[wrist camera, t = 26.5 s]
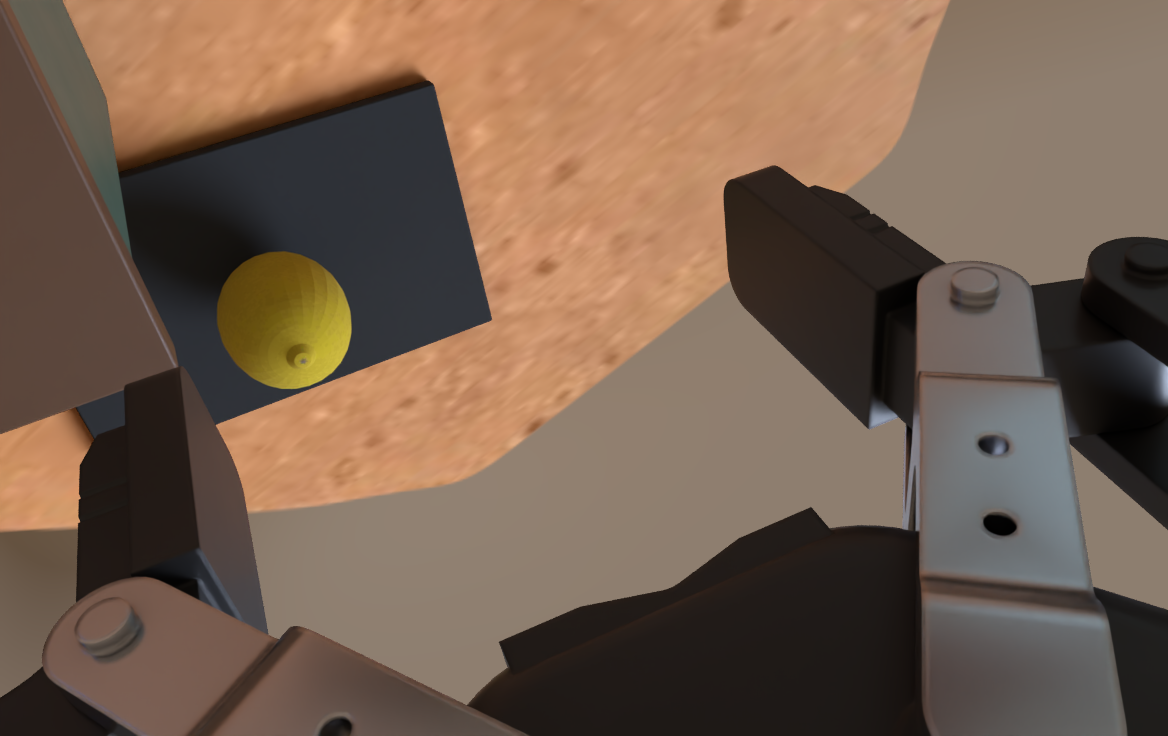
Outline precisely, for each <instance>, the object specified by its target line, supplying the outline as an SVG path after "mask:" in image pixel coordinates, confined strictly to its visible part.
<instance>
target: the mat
mask: <svg viewBox="0 0 1168 736" xmlns="http://www.w3.org/2000/svg"><path fill="white" fill-rule="evenodd" d="M118 175H119V181H120V187H121V193H122V199H123V205H124V212H125V218H126V224H127V230H128V236H129V243H130V249H131V255H132V259H133V261H134V263H135V265H136V267H137V270H138V272H139V274H140V276H141V278H142V280H143V282H144V284H145V286H146V288H147V290H148V292H149V294H150V297H151V299H152V301H153V303H154V305H155V307H156V309H157V311H158V313H159V315H160V317H161V319H162V321H163V324H164V326H165V328H166V330H167V332H168V334H169V336H170V338H171V340H172V342H173V344H174V347H175V352H176V356H177V361H178V367H179V366H183V367H184V368H185V369H186V371H187V372H188V374H189V375H190V377H191V379H192V381H193V383H194V384H195V386H196V388H197V390H198V392H199V394H200V396H201V398H202V400H203V402H204V404H205V406H206V408H207V410H208V411H209V413H210V415H211V417H212V419H213V421H214V423H215V425H216V424H219V423H221V422H224V421H227V420H229V419H232V418H235V417H237V416H240V415H242V414H245V413H248V412H250V411H253V410H256V409H258V408H261V407H264V406H266V405H269V404H272V403H274V402H277V401H280V400H282V399H285V398H287V397H290V396H293V395H295V394H298V393H301V392H303V391H306V390H309V389H311V388H314V387H317V386H319V385H322V384H325V383H327V382H330V381H332V380H335V379H338V378H340V377H343V376H346V375H348V374H351V373H354V372H356V371H359V370H362V369H364V368H367V367H370V366H372V365H375V364H377V363H380V362H383V361H385V360H388V359H391V358H393V357H396V356H399V355H401V354H404V353H407V352H409V351H412V350H415V349H417V348H420V347H422V346H425V345H428V344H430V343H433V342H436V341H438V340H441V339H444V338H446V337H449V336H452V335H454V334H457V333H460V332H462V331H465V330H467V329H470V328H473V327H475V326H478V325H481V324H483V323H486V322H489V321H491V320H492V317H491V313H490V309H489V305H488V301H487V297H486V293H485V289H484V285H483V281H482V277H481V273H480V269H479V265H478V261H477V257H476V253H475V249H474V245H473V241H472V237H471V233H470V229H469V225H468V221H467V217H466V212H465V208H464V204H463V200H462V196H461V192H460V188H459V184H458V180H457V176H456V172H455V168H454V164H453V160H452V156H451V152H450V148H449V144H448V140H447V136H446V132H445V128H444V124H443V120H442V116H441V112H440V108H439V104H438V100H437V96H436V91H435V87H434V85H433V83H431V82H430V81H424V82H421V83H418V84H414V85H411V86H408V87H404V88H401V89H398V90H394V91H391V92H388V93H384V94H381V95H378V96H374V97H371V98H367V99H364V100H361V101H357V102H354V103H351V104H347V105H344V106H341V107H337V108H334V109H331V110H327V111H324V112H321V113H317V114H314V115H311V116H307V117H304V118H301V119H297V120H294V121H291V122H287V123H284V124H281V125H277V126H274V127H271V128H267V129H264V130H261V131H257V132H254V133H250V134H247V135H244V136H240V137H237V138H234V139H230V140H227V141H224V142H220V143H217V144H214V145H210V146H207V147H204V148H200V149H197V150H194V151H190V152H187V153H184V154H180V155H177V156H174V157H170V158H167V159H164V160H160V161H157V162H154V163H150V164H147V165H144V166H140V167H137V168H133V169H130V170H127V171H123V172H120V173H118ZM282 251H285V252H291V253H296V254H300V255H303V256H305V257H307V258H309V259H311V260H314V261H316V262H317V263H318V264H320V265H321V266H322V267H323V268H325V269H326V270H327V271H328V272H330V273H331V274H332V275H333V277H334V278H335V280H336V281H337V282H338V284H339V285H340V287H341V288H342V290H343V292H344V294H345V297H346V300H347V302H348V305H349V308H350V313H351V338H350V342H349V346H348V350H347V352H346V354H345V356H344V358H343V359H342V361H341V363H340V364H339V365H338V366H337V368H336V369H335V370H334V371H333V372H332V373H331V374H329V375H328V376H327V377H325V378H324V379H323V380H321V381H319V382H317V383H314V384H312V385H310V386H306V387H301V388H297V389H281V388H276V387H272V386H268V385H265V384H263V383H261V382H259V381H257V380H255V379H253V378H252V377H250V376H249V375H248V374H247V373H246V372H244V371H243V370H242V369H241V368H240V367H239V366H238V365H237V364H236V363H235V362H234V361H233V359H232V358H231V356H230V354H229V353H228V351H227V350H226V348H225V347H224V345H223V342H222V339H221V336H220V333H219V329H218V325H217V304H218V300H219V296H220V293H221V290H222V287H223V285H224V284H225V282H226V281H227V279H228V278H229V276H230V274H231V273H232V272H233V271H234V270H235V269H237V268H238V267H239V266H240V265H241V264H242V263H243V262H245V261H247V260H249V259H251V258H253V257H254V256H257V255H261V254H264V253H268V252H282ZM76 409H77V411H78V412H79V414H80V416H81V417H82V419H83V421H84V423H85V424H86V426H87V428H88V430H89V431H90V433H91V435H92V436H93V438H94V440H95V438H96V436H97V435H98V434H101V433H104V432H107V431H109V430H112V429H115V428H118V427H121V426H124V425H125V407H124V390H122V391H119V392H117V393H114V394H111V395H108V396H105V397H103V398H100V399H97V400H94V401H91V402H89V403H86V404H83V405H80V406H78V407H76Z"/></svg>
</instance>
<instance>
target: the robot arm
mask: <svg viewBox="0 0 1168 736" xmlns="http://www.w3.org/2000/svg"><path fill="white" fill-rule="evenodd" d="M724 212H725V228H726V244H727V260H728V272H729V277H730V281H731V284H732V287H733V290H734V292H735V294H736V296H737V298H738V300H739V301H740V303H741V304H742V305H743V307H744V308H745V309H746V310H747V311H748V312H749V313H750V314H751V315H752V316H753V317H754V318H756V320H757V321H758V322H759V323H760V324H761V325H762V326H764V327H765V328H766V329H767V330H768V331H769V332H770V333H771V334H772V335H773V336H774V337H775V338H776V339H777V340H778V341H779V342H780V343H781V344H782V345H783V346H784V347H785V348H786V349H787V350H788V351H789V352H790V353H791V354H792V355H793V356H794V357H795V358H796V359H797V360H798V361H799V362H800V363H801V364H802V365H803V366H804V367H805V368H806V369H807V370H809V371H810V372H811V373H812V374H813V375H814V376H815V377H816V378H817V379H818V380H819V381H820V382H821V383H822V384H823V385H824V386H825V387H826V388H827V389H828V390H829V391H830V392H831V393H832V394H833V395H834V396H835V397H836V398H837V399H838V400H839V401H840V402H841V403H842V404H843V405H844V406H845V407H846V408H847V409H849V411H850V412H851V413H852V414H854V416H856V417H857V418H858V419H859V420H860V421H861V422H862V423H863V424H864V425H865V426H866V427H867V428H868V429H871V428H874V427H876V426H879V425H881V424H883V423H886V422H888V421H891V420H893V419H895V418H898V417H899V418H900V419H901V420H902V421H903V422H905V423H906V428H905V439H904V484H903V529H900V528H895V527H885V526H866V525H865V526H864V525H857V526H845V527H836V528H830V529H829V528H828V526H827V525H826V524H825V523H824V522H823V520H822V519H821V518H820V517H819V516H818V515H817V513H816V512H815V511H814V510H813V509H812V508H811V507H810V508H808V509H806V510H804V511H801V512H799V513H797V514H794V515H792V516H790V517H787V518H785V519H783V520H780V521H778V522H776V523H773V524H771V525H769V526H767V527H764V528H762V529H759V530H757V531H755V532H752V533H750V534H748V535H746V536H743V537H741V538H739V539H737V540H736V541H735V542H733V543H732V544H731V545H729V546H728V547H727V548H725V549H724V550H723V551H721V552H720V553H719V554H717V555H716V556H715V557H713V558H712V559H711V560H709V561H708V562H707V563H706V564H704V565H703V566H701V567H700V568H699V569H697V570H696V571H695V572H693V573H692V574H691V575H689V576H688V577H687V578H685V579H684V580H683V581H681V582H680V583H678V584H677V585H675V586H674V587H671V588H669V589H666V590H663V591H657V592H652V593H647V594H642V595H637V596H632V597H627V598H622V599H617V600H612V601H607V602H603V603H597V604H592V605H587V606H582V607H579V608H576V609H574V610H572V611H569V612H567V613H565V614H562V615H560V616H558V617H555V618H553V619H551V620H549V621H546V622H544V623H541V624H539V625H537V626H535V627H532V628H530V629H528V630H525V631H523V632H521V633H518V634H516V635H514V636H511V637H509V638H507V639H504V640H502V641H500V642H499V643H500V646H501V649H502V652H503V655H504V658H505V661H506V664H507V667H508V668H506V669H505V670H504V671H502V672H501V673H500V674H498V675H497V676H496V677H494V678H493V679H492V680H491V681H490V682H489V683H488V684H487V685H486V686H485V687H483V688H482V689H481V690H480V691H479V692H478V693H477V694H476V696H475V697H474V698H473V699H472V700H471V701H470V702H469V704H468V705H465V704H463V703H461V702H459V701H457V700H455V699H453V698H451V697H449V696H447V695H444V694H442V693H440V692H438V691H436V690H434V689H432V688H430V687H428V686H426V685H424V684H422V683H420V682H417V681H416V680H413V679H411V678H409V677H407V676H405V675H403V674H401V673H399V672H397V671H395V670H393V669H391V668H389V667H387V666H384V665H382V664H380V663H378V662H376V661H374V660H372V659H370V658H368V657H366V656H364V655H362V654H360V653H358V652H355V651H353V650H351V649H349V648H347V647H345V646H343V645H341V644H339V643H337V642H335V641H333V640H331V639H329V638H327V637H325V636H322V635H320V634H318V633H316V632H314V631H312V630H309V629H307V628H303V627H299V626H293V627H290V628H289V629H288V630H287V631H286V632H285V633H284V634H283V635H282V637H281V638H280V639H277V638H274V637H272V636H270V635H268V629H267V623H266V618H265V612H264V606H263V601H262V595H261V589H260V583H259V578H258V572H257V566H256V560H255V556H254V549H253V543H252V538H251V532H250V526H249V520H248V515H247V509H246V503H245V497H244V492H243V488H242V484H241V481H240V478H239V475H238V472H237V469H236V466H235V464H234V461H233V459H232V457H231V454H230V452H229V450H228V448H227V446H226V444H225V442H224V440H223V438H222V437H221V435H220V433H219V431H218V429H217V427H216V425H215V423H214V421H213V419H212V417H211V415H210V413H209V411H208V410H207V408H206V406H205V404H204V402H203V400H202V398H201V396H200V394H199V392H198V390H197V388H196V386H195V384H194V383H193V381H192V379H191V377H190V375H189V374H188V372H187V371H186V369H185V368H184V367H183V366H179V367H176V368H173V369H170V370H167V371H164V372H161V373H158V374H156V375H153V376H150V377H147V378H144V379H141V380H138V381H135V382H132V383H129V384H126V385H125V387H124V407H125V425H124V426H121V427H118V428H115V429H112V430H109V431H107V432H104V433H101V434H98V435H97V436H96V438H95V440H94V441H93V443H92V445H91V447H90V448H89V450H88V452H87V454H86V456H85V457H84V459H83V461H82V463H81V464H80V478H79V495H80V497H81V499H79V514H78V517H79V519H80V523H78V551H77V587H76V603H75V604H74V605H73V606H72V607H70V608H69V609H68V611H66V612H65V614H63V615H62V616H61V618H60V619H59V620H58V621H57V623H56V624H55V625H54V627H53V628H52V630H51V632H50V633H49V635H48V637H47V640H46V642H45V645H44V649H43V653H42V664H43V667H41V669H39V670H38V671H37V672H36V673H35V674H33V675H32V676H31V677H30V678H29V679H27V680H26V681H25V682H23V683H22V684H20V685H19V686H17V687H16V688H14V689H13V690H11V691H10V692H8V693H7V694H5V695H4V696H2V697H1V698H0V736H1168V610H1166V609H1163V608H1160V607H1157V606H1153V605H1150V604H1146V603H1144V602H1140V601H1137V600H1134V599H1131V598H1128V597H1125V596H1121V595H1118V594H1115V593H1112V592H1109V591H1105V590H1102V589H1099V588H1096V587H1093V585H1092V579H1091V573H1090V566H1089V560H1088V554H1087V548H1086V542H1085V536H1084V530H1083V524H1082V517H1081V511H1080V505H1079V498H1078V492H1077V486H1076V480H1075V474H1074V467H1073V461H1072V455H1071V449H1070V444H1071V445H1072V446H1073V447H1074V448H1075V449H1076V450H1077V451H1078V452H1080V453H1081V454H1082V455H1083V456H1084V457H1085V458H1087V459H1088V460H1089V461H1090V462H1091V463H1092V464H1093V465H1095V466H1096V467H1097V468H1098V469H1099V470H1100V471H1101V472H1103V473H1104V474H1105V475H1106V476H1107V477H1108V478H1109V479H1110V480H1112V481H1113V482H1114V483H1115V484H1116V485H1117V486H1118V487H1120V488H1121V489H1122V490H1123V491H1124V492H1125V493H1126V494H1128V495H1129V496H1130V497H1131V498H1132V499H1133V500H1134V501H1136V502H1137V503H1138V504H1139V505H1140V506H1141V507H1142V508H1144V509H1145V510H1146V511H1147V512H1148V513H1149V514H1150V515H1151V516H1153V517H1154V518H1155V519H1156V520H1157V521H1158V522H1159V523H1161V524H1162V525H1163V526H1164V527H1165V528H1166V529H1167V530H1168V240H1163V239H1158V238H1148V237H1127V238H1120V239H1115V240H1111V241H1108V242H1106V243H1103V244H1101V245H1099V246H1098V247H1096V248H1095V249H1094V250H1093V251H1092V252H1091V254H1090V256H1089V258H1088V263H1087V268H1086V273H1085V277H1084V278H1083V279H1075V280H1068V281H1061V282H1054V283H1047V284H1040V285H1032V286H1030V285H1029V283H1028V282H1027V281H1026V280H1025V279H1024V278H1023V277H1022V276H1021V275H1019V274H1018V273H1016V272H1015V271H1012V270H1011V269H1009V268H1006V267H1003V266H1001V265H997V264H993V263H988V262H981V261H980V262H979V261H959V262H953V263H948V264H946V263H945V262H943V261H942V260H940V259H939V258H937V257H936V256H935V255H933V254H932V253H930V252H929V251H927V250H926V249H924V248H923V247H922V246H920V245H919V244H917V243H916V242H914V241H913V240H911V239H910V238H908V237H907V236H906V235H904V234H903V233H901V232H900V231H898V230H897V229H895V228H894V227H893V226H891V227H889V226H888V223H887V222H885V221H884V220H883V219H881V218H880V217H878V216H877V215H875V214H870V211H869V210H868V209H867V208H865V207H864V206H862V205H861V204H859V203H858V202H857V201H855V200H854V199H852V198H851V197H849V196H848V195H846V194H843V193H839V192H836V191H833V190H829V189H826V188H823V187H819V186H816V185H814V186H811V187H809V188H808V187H807V186H805V185H804V184H802V183H801V182H800V181H798V180H797V179H795V178H794V177H793V176H791V175H790V174H788V173H787V172H786V171H784V170H783V169H782V168H780V167H778V166H775V165H774V166H770V167H767V168H764V169H761V170H758V171H755V172H752V173H749V174H746V175H743V176H740V177H737V178H734V179H731V180H729V181H728V182H727V183H726V185H725V188H724Z"/></svg>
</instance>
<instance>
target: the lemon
mask: <svg viewBox="0 0 1168 736" xmlns="http://www.w3.org/2000/svg"><path fill="white" fill-rule="evenodd" d="M217 325H218V329H219V333H220V336H221V339H222V342H223V345H224V347H225V348H226V350H227V351H228V353H229V354H230V356H231V358H232V359H233V361H234V362H235V363H236V364H237V365H238V366H239V367H240V368H241V369H242V370H243V371H244V372H246V373H247V374H248V375H249V376H250V377H252V378H253V379H255V380H257V381H259V382H261V383H263V384H265V385H268V386H272V387H276V388H281V389H297V388H301V387H306V386H310V385H312V384H314V383H317V382H319V381H321V380H323V379H324V378H325V377H327V376H328V375H329V374H331V373H332V372H333V371H334V370H335V369H336V368H337V366H338V365H339V364H340V363H341V361H342V359H343V358H344V356H345V354H346V352H347V350H348V346H349V342H350V338H351V313H350V308H349V305H348V302H347V300H346V297H345V294H344V292H343V290H342V288H341V287H340V285H339V284H338V282H337V281H336V280H335V278H334V277H333V275H332V274H331V273H330V272H328V271H327V270H326V269H325V268H323V267H322V266H321V265H320V264H318V263H317V262H316V261H314V260H311V259H309V258H307V257H305V256H303V255H300V254H296V253H291V252H285V251H282V252H268V253H264V254H261V255H257V256H254V257H253V258H251V259H249V260H247V261H245V262H243V263H242V264H241V265H240V266H239V267H238V268H237V269H235V270H234V271H233V272H232V273H231V274H230V276H229V278H228V279H227V281H226V282H225V284H224V285H223V287H222V290H221V293H220V296H219V300H218V304H217Z"/></svg>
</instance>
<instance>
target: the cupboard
mask: <svg viewBox="0 0 1168 736" xmlns="http://www.w3.org/2000/svg"><path fill="white" fill-rule="evenodd" d="M176 367H178V361H177V356H176V352H175V347H174V344H173V342H172V340H171V338H170V336H169V334H168V332H167V330H166V328H165V326H164V324H163V321H162V319H161V317H160V315H159V313H158V311H157V309H156V307H155V305H154V303H153V301H152V299H151V297H150V294H149V292H148V290H147V288H146V286H145V284H144V282H143V280H142V278H141V276H140V274H139V272H138V270H137V267H136V265H135V263H134V261H133V259H132V255H131V249H130V243H129V236H128V230H127V224H126V218H125V212H124V205H123V199H122V193H121V187H120V181H119V175H118V168H117V162H116V156H115V150H114V144H113V137H112V131H111V125H110V119H109V113H108V106H107V100H106V97H105V94H104V92H103V90H102V88H101V85H100V83H99V81H98V79H97V77H96V74H95V72H94V70H93V68H92V65H91V63H90V61H89V59H88V57H87V54H86V52H85V50H84V48H83V45H82V43H81V41H80V39H79V37H78V34H77V32H76V30H75V28H74V25H73V23H72V21H71V19H70V17H69V14H68V12H67V10H66V8H65V5H64V3H63V1H62V0H0V434H2V433H5V432H8V431H11V430H13V429H16V428H19V427H22V426H25V425H27V424H30V423H33V422H36V421H39V420H41V419H44V418H47V417H50V416H52V415H55V414H58V413H61V412H64V411H66V410H69V409H72V408H75V407H78V406H80V405H83V404H86V403H89V402H91V401H94V400H97V399H100V398H103V397H105V396H108V395H111V394H114V393H117V392H119V391H122V390H124V387H125V385H126V384H129V383H132V382H135V381H138V380H141V379H144V378H147V377H150V376H153V375H156V374H158V373H161V372H164V371H167V370H170V369H173V368H176Z"/></svg>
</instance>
